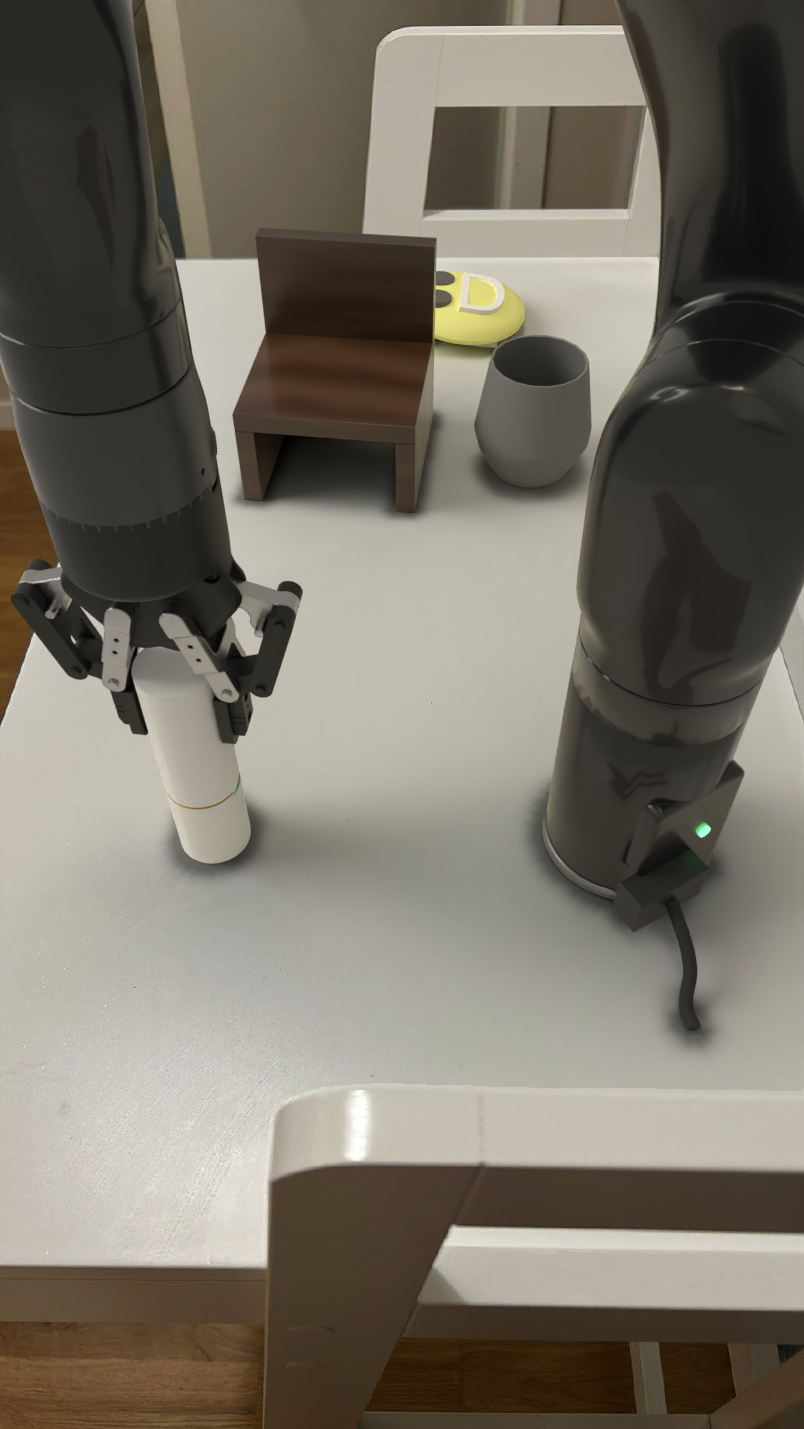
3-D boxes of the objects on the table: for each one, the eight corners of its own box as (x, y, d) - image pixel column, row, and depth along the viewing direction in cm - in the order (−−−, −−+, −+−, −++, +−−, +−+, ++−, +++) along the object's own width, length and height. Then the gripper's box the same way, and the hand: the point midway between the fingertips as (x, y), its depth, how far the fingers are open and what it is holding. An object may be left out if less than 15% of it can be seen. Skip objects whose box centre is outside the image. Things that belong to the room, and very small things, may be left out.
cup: (605, 484, 86) (625, 376, 79) (507, 515, 84) (517, 406, 76) (547, 424, 92) (560, 318, 84) (453, 451, 89) (457, 344, 82)
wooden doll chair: (414, 513, 84) (416, 328, 72) (244, 499, 85) (217, 315, 73) (432, 417, 93) (436, 237, 81) (278, 406, 94) (259, 227, 82)
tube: (222, 875, 62) (180, 710, 51) (166, 843, 64) (113, 676, 52) (264, 824, 64) (234, 655, 53) (209, 794, 66) (168, 625, 55)
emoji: (529, 265, 104) (409, 251, 104) (527, 329, 96) (397, 313, 96) (523, 302, 107) (406, 288, 107) (520, 367, 99) (394, 352, 99)
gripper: (-78, 506, 41) (38, 769, 54) (275, 534, 40) (307, 796, 53) (-7, 399, 46) (84, 664, 59) (310, 422, 45) (332, 688, 58)
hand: (189, 726), depth 56 cm, fingers closed on tube, 4 cm apart
